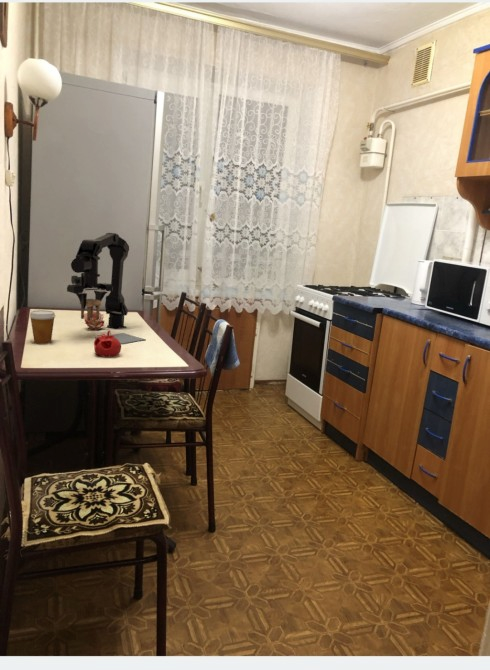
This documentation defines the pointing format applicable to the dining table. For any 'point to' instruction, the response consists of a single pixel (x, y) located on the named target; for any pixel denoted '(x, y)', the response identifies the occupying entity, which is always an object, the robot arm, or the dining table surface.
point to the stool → (91, 308)
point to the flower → (94, 321)
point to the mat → (126, 338)
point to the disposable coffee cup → (42, 325)
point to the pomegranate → (107, 345)
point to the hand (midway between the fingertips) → (90, 308)
